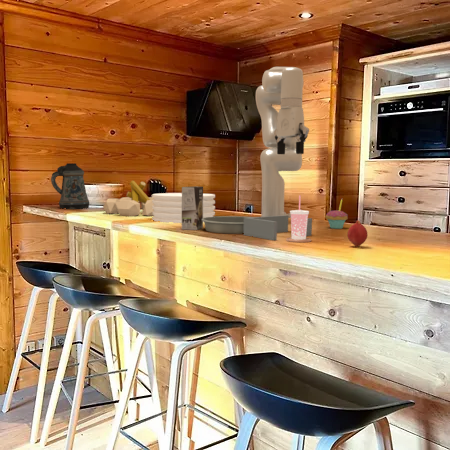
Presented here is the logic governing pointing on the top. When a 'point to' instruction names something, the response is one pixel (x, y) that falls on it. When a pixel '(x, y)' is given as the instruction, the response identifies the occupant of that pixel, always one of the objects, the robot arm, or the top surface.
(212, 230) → the cake pan
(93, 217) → the top surface
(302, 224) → the beverage cup
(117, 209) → the campfire
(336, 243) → the top surface
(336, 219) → the cupcake
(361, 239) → the onion
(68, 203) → the beer stein
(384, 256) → the top surface
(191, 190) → the coffee box
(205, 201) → the plate stack
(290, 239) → the coaster
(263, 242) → the top surface
